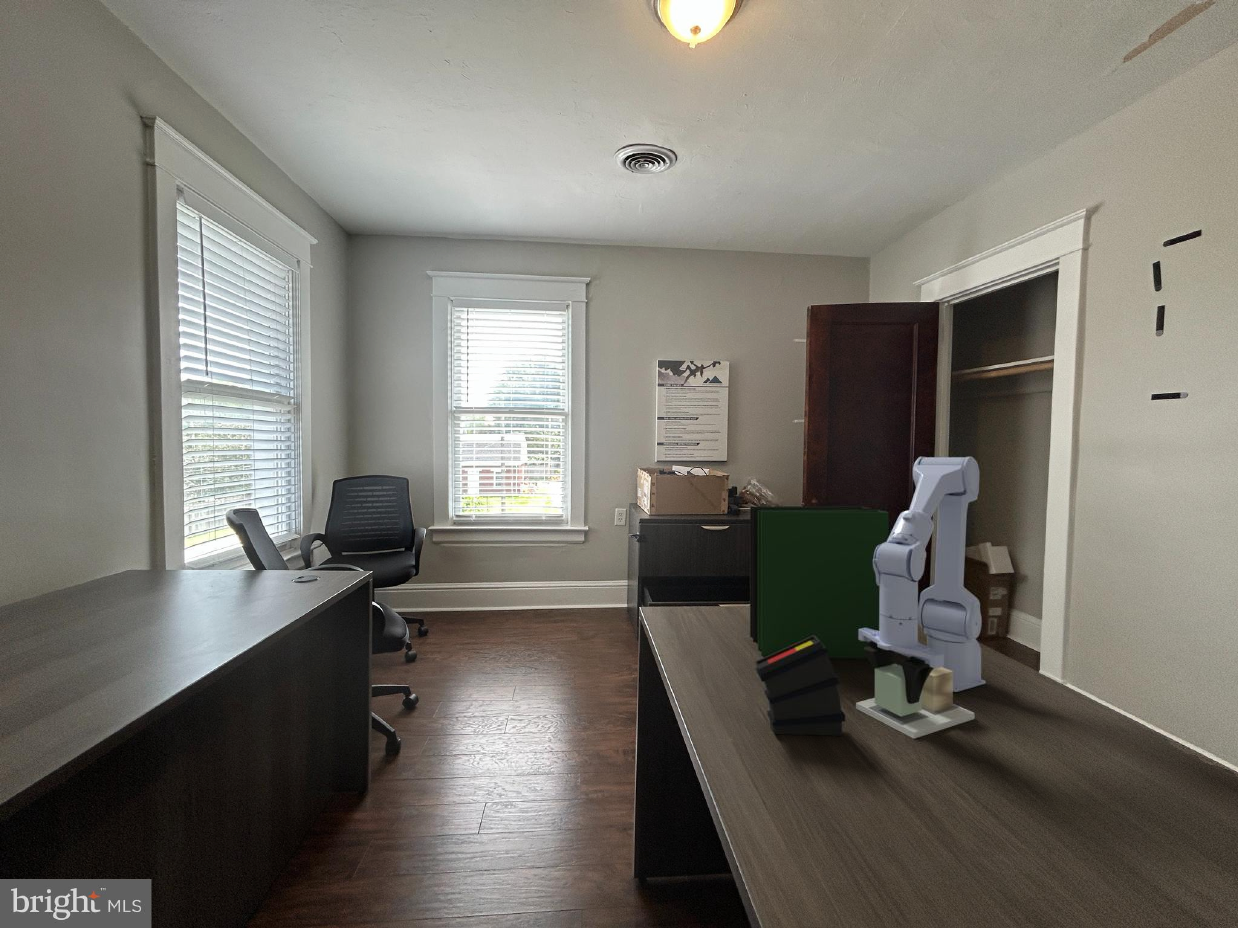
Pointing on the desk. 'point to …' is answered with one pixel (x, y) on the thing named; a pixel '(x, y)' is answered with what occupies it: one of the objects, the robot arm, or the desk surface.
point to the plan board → (917, 718)
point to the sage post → (893, 691)
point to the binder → (814, 576)
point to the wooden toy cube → (938, 690)
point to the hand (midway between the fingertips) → (897, 695)
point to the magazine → (802, 690)
